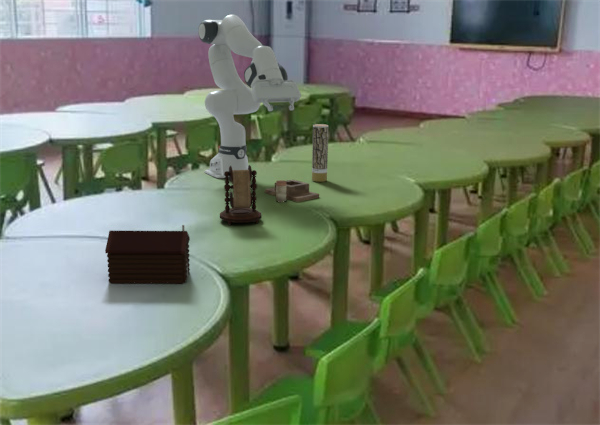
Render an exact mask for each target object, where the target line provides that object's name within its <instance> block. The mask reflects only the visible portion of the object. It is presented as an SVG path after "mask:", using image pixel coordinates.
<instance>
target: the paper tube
mask: <svg viewBox="0 0 600 425" xmlns="http://www.w3.org/2000/svg"><path fill="white" fill-rule="evenodd" d="M328 150H329V125H328V124H324V123H319V124H318V123H317V124H312V150H311V151H312V154H311V155H312V158H311V181H312V182H315V183H324V182H325V183H326V181H327V180H328V160H329V159H328V158H329V157H328V156H329V155H328V153H329V151H328Z"/></svg>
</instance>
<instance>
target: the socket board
mask: <svg viewBox="0 0 600 425" xmlns="http://www.w3.org/2000/svg"><path fill="white" fill-rule="evenodd" d="M286 181H287V182H286V200H288V201H293V202H295V203H296V202H297V203H299V202H303V201H309V200H314V199H319V198H320V193H316V192H313V191H310V183H308V182H303V181H300V180H296V179H289V180H288V179H287V180H286ZM264 193H265V194H267V195H268V194H269V195H271V196H275V197H276V182H274V187H270V188H264Z"/></svg>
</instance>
